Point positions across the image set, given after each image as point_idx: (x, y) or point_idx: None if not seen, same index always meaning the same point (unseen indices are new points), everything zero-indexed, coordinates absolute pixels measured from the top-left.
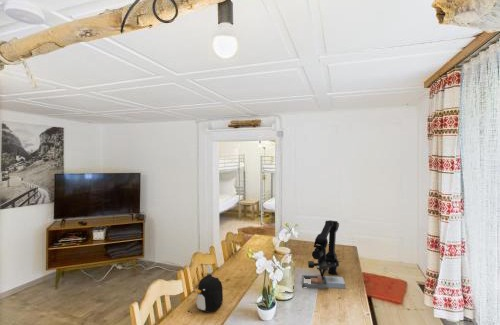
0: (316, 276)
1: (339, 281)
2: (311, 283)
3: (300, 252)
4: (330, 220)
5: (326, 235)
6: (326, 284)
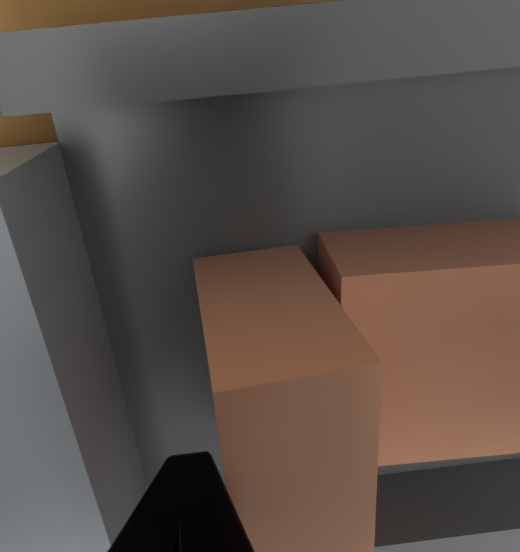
0: None
1: None
2: (517, 229)
3: None
4: None
5: None
6: (47, 210)
